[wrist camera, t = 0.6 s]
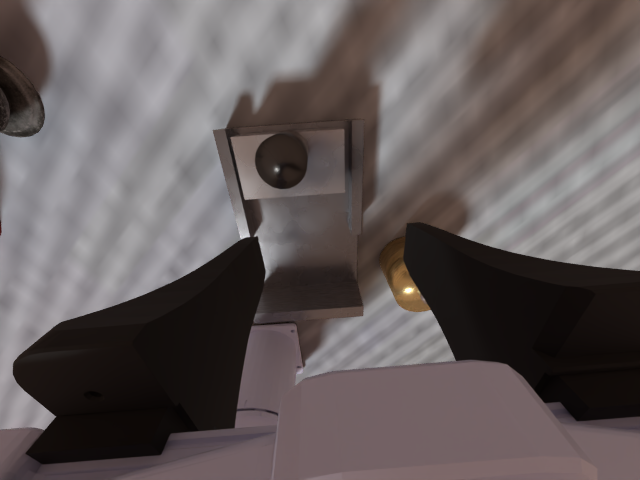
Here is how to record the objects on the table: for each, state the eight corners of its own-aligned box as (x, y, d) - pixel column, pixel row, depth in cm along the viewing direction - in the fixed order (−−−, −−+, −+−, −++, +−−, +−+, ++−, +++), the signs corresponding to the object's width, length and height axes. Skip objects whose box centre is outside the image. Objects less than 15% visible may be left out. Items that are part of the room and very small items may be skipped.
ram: (340, 182, 18) (356, 218, 12) (253, 188, 18) (222, 227, 12) (339, 123, 16) (357, 129, 10) (241, 130, 16) (197, 140, 10)
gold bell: (423, 275, 25) (454, 318, 20) (377, 278, 25) (395, 322, 20) (431, 234, 22) (468, 271, 17) (380, 238, 22) (402, 275, 17)
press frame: (354, 287, 25) (362, 319, 21) (264, 294, 25) (255, 327, 21) (357, 118, 17) (370, 120, 13) (225, 128, 17) (200, 132, 13)
